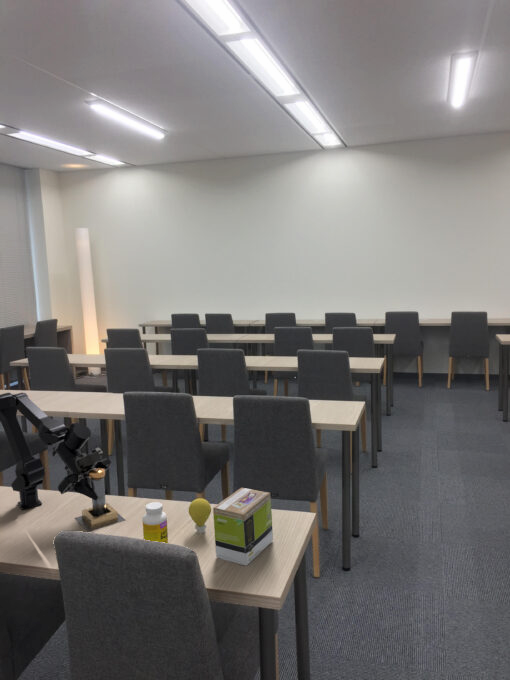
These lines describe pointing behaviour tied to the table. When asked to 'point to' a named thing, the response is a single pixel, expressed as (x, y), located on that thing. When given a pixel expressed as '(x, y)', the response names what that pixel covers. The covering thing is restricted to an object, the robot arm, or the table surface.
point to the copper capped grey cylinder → (98, 491)
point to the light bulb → (200, 513)
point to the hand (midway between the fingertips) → (101, 496)
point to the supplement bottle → (155, 523)
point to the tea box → (243, 525)
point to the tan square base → (99, 519)
